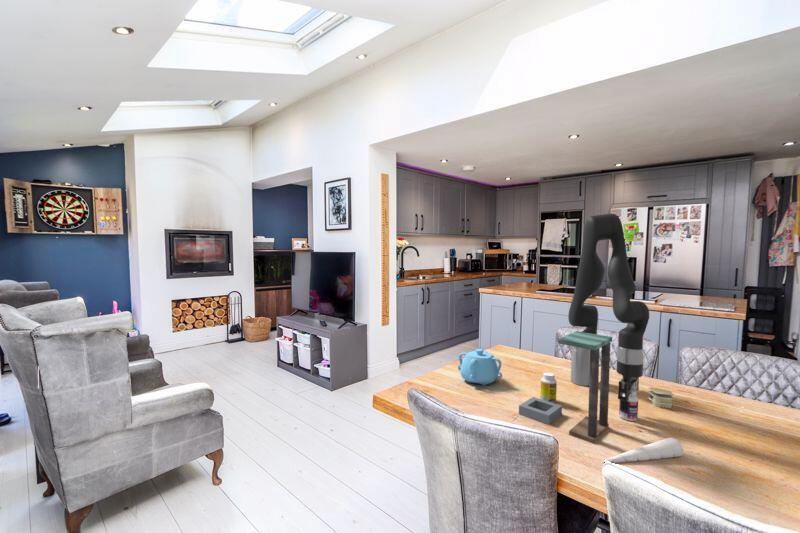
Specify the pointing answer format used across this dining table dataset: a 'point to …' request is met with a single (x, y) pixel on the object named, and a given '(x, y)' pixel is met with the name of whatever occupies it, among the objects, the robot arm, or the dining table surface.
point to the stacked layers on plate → (661, 397)
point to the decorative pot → (479, 367)
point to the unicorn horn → (651, 451)
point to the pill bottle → (630, 408)
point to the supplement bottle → (548, 387)
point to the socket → (540, 410)
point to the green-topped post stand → (593, 383)
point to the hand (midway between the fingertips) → (628, 407)
